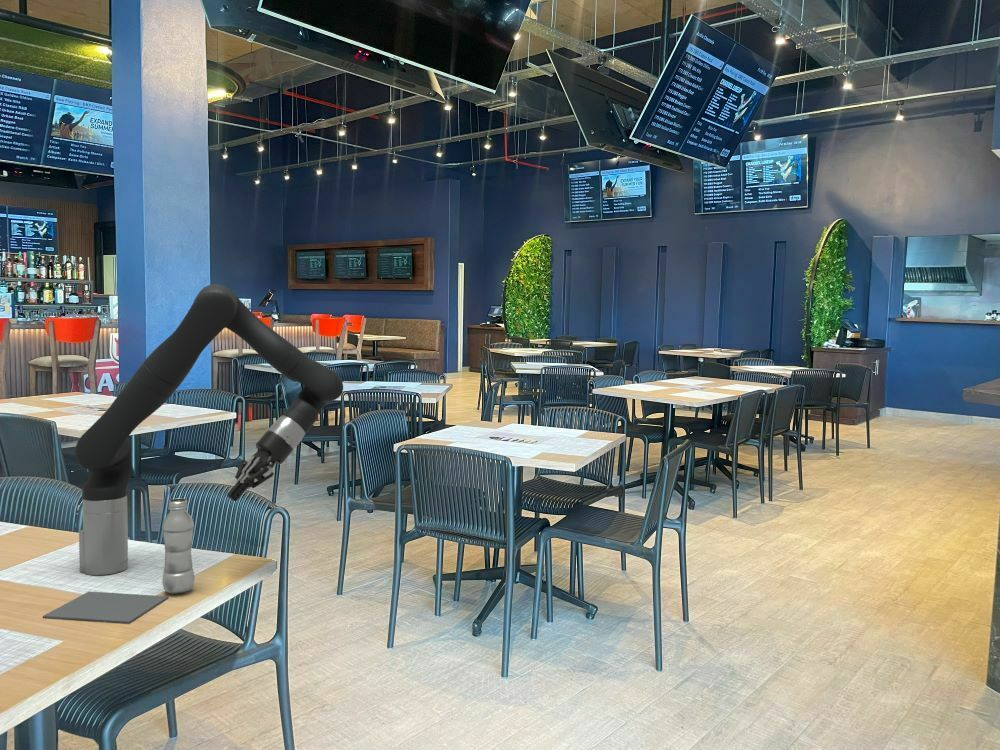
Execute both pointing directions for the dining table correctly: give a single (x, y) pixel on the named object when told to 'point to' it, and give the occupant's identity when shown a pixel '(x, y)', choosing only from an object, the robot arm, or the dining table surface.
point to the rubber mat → (107, 607)
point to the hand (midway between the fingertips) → (231, 498)
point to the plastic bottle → (178, 548)
